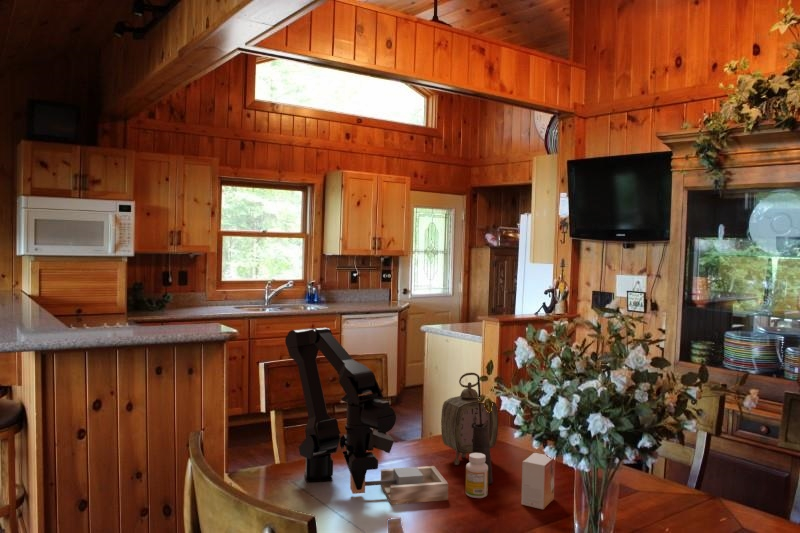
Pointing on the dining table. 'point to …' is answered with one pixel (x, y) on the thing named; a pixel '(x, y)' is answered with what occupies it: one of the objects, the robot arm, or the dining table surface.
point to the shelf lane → (416, 487)
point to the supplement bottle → (477, 476)
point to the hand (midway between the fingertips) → (357, 486)
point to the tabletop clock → (466, 420)
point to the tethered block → (399, 478)
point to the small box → (537, 481)
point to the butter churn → (482, 439)
